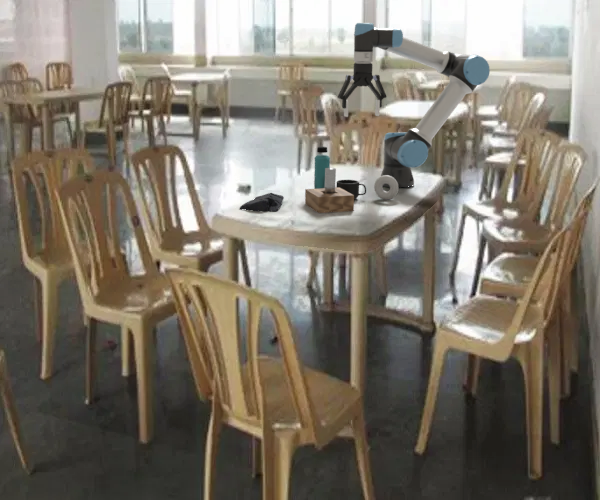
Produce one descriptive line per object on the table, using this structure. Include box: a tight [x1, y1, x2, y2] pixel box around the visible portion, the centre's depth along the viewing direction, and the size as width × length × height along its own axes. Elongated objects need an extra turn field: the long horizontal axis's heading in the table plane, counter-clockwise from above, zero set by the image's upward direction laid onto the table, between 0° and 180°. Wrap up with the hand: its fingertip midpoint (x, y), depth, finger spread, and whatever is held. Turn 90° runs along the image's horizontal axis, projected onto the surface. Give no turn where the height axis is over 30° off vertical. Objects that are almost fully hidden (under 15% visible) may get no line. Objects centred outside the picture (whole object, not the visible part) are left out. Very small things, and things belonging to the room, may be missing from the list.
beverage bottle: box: [313, 146, 331, 189], centre depth 342 cm, size 6×7×20 cm
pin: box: [324, 167, 337, 194], centre depth 320 cm, size 4×4×14 cm
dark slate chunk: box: [238, 192, 285, 213], centre depth 324 cm, size 15×22×5 cm
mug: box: [335, 179, 367, 200], centre depth 337 cm, size 12×9×7 cm
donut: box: [373, 175, 400, 201], centre depth 336 cm, size 10×4×10 cm, turn 67°
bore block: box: [304, 187, 355, 214], centre depth 321 cm, size 14×16×6 cm
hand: (361, 116), depth 342 cm, fingers open, 13 cm apart
